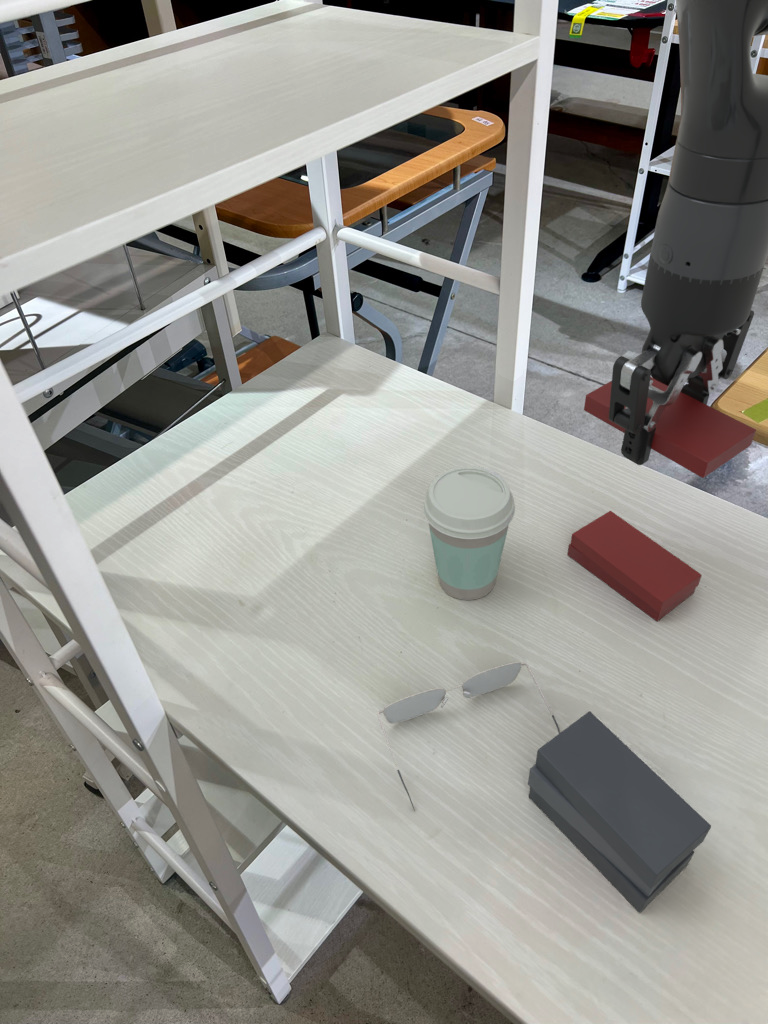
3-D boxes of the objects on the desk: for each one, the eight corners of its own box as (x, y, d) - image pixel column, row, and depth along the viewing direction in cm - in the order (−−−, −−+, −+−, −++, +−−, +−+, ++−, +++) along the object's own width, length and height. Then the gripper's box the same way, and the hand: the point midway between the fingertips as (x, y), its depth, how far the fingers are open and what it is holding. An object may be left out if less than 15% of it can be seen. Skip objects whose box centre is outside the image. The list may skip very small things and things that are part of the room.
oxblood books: (697, 594, 73) (704, 572, 71) (657, 625, 71) (664, 603, 69) (603, 530, 80) (608, 508, 78) (565, 556, 78) (568, 534, 76)
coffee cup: (523, 596, 74) (532, 508, 66) (444, 621, 73) (444, 534, 65) (487, 540, 80) (491, 453, 72) (413, 562, 79) (409, 475, 71)
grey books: (692, 864, 55) (716, 821, 50) (639, 918, 52) (658, 878, 48) (574, 752, 62) (585, 705, 57) (522, 795, 59) (529, 749, 55)
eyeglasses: (523, 679, 67) (527, 655, 64) (566, 759, 62) (573, 737, 59) (377, 728, 65) (375, 706, 62) (409, 816, 59) (409, 796, 56)
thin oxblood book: (751, 445, 60) (756, 429, 59) (702, 478, 57) (707, 462, 56) (630, 383, 67) (633, 368, 66) (583, 410, 64) (585, 394, 63)
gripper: (688, 305, 46) (640, 502, 58) (817, 236, 52) (751, 428, 64) (595, 266, 51) (568, 456, 62) (723, 207, 57) (677, 391, 68)
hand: (660, 441), depth 63 cm, fingers closed on thin oxblood book, 6 cm apart
